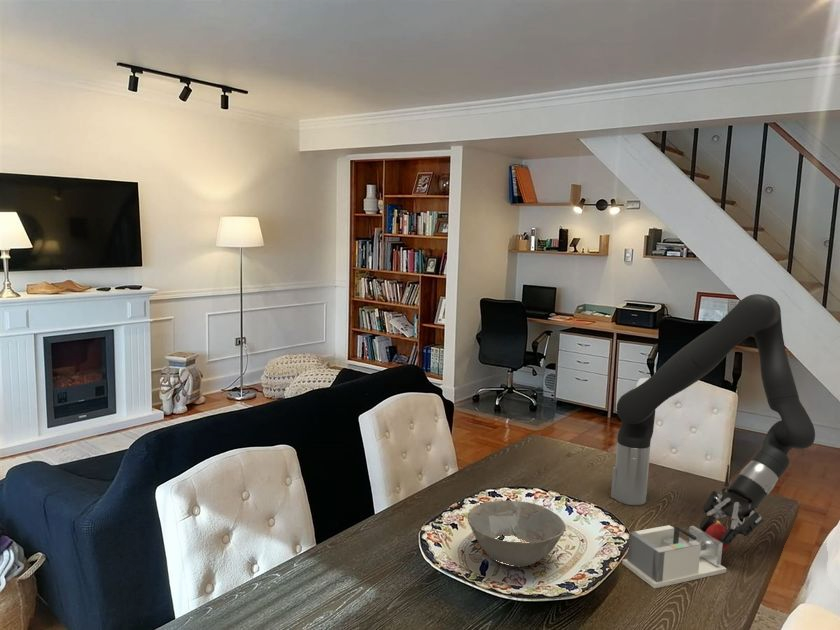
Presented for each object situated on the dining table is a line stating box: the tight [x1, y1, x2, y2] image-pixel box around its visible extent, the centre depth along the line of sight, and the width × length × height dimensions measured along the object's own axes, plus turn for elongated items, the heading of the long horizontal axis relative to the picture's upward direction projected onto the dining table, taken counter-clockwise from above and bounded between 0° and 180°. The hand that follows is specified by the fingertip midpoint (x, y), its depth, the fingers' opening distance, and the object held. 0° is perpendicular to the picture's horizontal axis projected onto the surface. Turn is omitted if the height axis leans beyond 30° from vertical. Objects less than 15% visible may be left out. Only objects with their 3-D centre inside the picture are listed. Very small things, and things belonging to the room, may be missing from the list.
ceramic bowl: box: [467, 499, 567, 567], centre depth 149 cm, size 22×23×10 cm
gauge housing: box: [621, 524, 727, 590], centre depth 147 cm, size 21×11×8 cm, turn 111°
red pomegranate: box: [705, 520, 732, 552], centre depth 151 cm, size 6×6×8 cm
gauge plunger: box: [662, 524, 723, 566], centre depth 147 cm, size 11×10×9 cm
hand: (712, 536), depth 150 cm, fingers closed on red pomegranate, 5 cm apart
